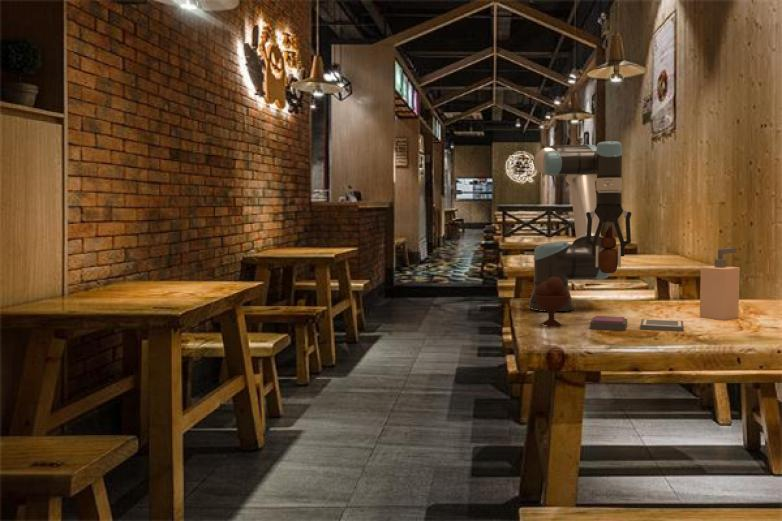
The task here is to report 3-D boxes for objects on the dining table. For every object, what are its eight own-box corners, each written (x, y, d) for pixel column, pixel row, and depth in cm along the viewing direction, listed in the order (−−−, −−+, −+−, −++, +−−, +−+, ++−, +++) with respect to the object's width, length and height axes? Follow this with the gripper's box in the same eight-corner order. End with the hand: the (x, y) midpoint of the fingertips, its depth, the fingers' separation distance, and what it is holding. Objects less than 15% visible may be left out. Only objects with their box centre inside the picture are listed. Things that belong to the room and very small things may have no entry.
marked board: (640, 329, 226) (640, 324, 226) (641, 322, 237) (641, 318, 237) (683, 331, 222) (683, 326, 222) (683, 324, 233) (683, 320, 233)
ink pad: (590, 329, 227) (590, 320, 227) (593, 323, 236) (593, 315, 236) (625, 330, 224) (625, 322, 223) (627, 325, 233) (627, 316, 233)
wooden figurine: (618, 273, 234) (619, 224, 233) (599, 273, 235) (599, 224, 234) (616, 272, 240) (617, 224, 239) (597, 271, 241) (598, 224, 240)
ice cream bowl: (570, 322, 238) (571, 274, 237) (566, 328, 228) (567, 278, 227) (536, 321, 242) (536, 274, 241) (531, 327, 231) (531, 277, 230)
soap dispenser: (724, 320, 240) (726, 250, 238) (699, 317, 247) (700, 249, 245) (745, 316, 248) (747, 248, 246) (720, 313, 255) (721, 247, 253)
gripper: (576, 192, 236) (575, 267, 237) (640, 191, 229) (639, 268, 231) (578, 192, 243) (578, 265, 244) (641, 191, 236) (640, 266, 238)
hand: (608, 266), depth 237 cm, fingers closed on wooden figurine, 6 cm apart
